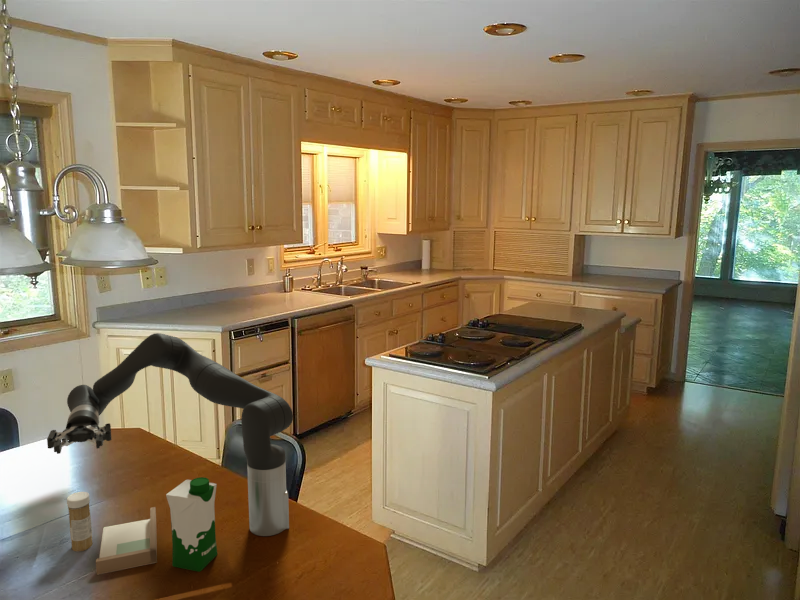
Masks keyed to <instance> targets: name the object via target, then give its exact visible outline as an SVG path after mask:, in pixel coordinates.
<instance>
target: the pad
mask: <svg viewBox="0 0 800 600" xmlns="http://www.w3.org/2000/svg"><path fill="white" fill-rule="evenodd" d="M149 548H150V538H147V539H142V540H137V541H131V542H126V543H121V544H117V551H116V555H118V554H123V553H128V552H133V551H138V550H144V549H149Z"/></svg>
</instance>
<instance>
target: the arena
mask: <svg viewBox="0 0 800 600" xmlns="http://www.w3.org/2000/svg"><path fill="white" fill-rule="evenodd" d="M149 508H150V509H149V510H150V511H149V514H150V515H149V516H150V517H149V518H148V519H142V520H137V521H136V520H135V521H131V522H130V521H129V522H126V523H125V522H124V523H120V524H114V525H110V526H109V525H108V526H104V527H103V530H102V535H101V536H102V537H101V543H100V549H99V550H100V551H99V557H97V558H96V559H95V569H96V575H103V574H107V573H112V572H117V571H123V570H126V569H131V568H136V567H141V566H146V565H151V564H155V563H158V560H157V559H158V558H157V556H158V555H157V553H158V552H157V549H158V548H157V512H156V511H157V510H156V506H153V507H149ZM147 538H150V548H149V549H144V550H138V551H133V552H128V553H123V554H118V555H116V551H117V544H121V543H126V542H131V541H137V540H142V539H147Z"/></svg>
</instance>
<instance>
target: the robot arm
mask: <svg viewBox="0 0 800 600" xmlns="http://www.w3.org/2000/svg"><path fill="white" fill-rule="evenodd" d="M151 366H152V367H155V368H160V369H167V370H170V371H174V372H176V373H179V374H180V375H182V376H184V377H185V378H187V379H188V383H189V385H190V387H191V388H192V389H193V391H195V392H196V394H199V395H200V396H202V397H203V398H204V399H206V400H208V401H209V402H212V403H213V404H216V405H220V406H225V407H230V408H231V407H232V408H238V409H242V412H241V420H240V421H241V432H242V433H241V434H242V442H243V451H244V455H245V457H246V463H247V464H246V467H247V469H246V470H247V492H248V493H247V498H248V499H247V501H248V524H249V531H250V532H251V533H252V534H253V535H256V536H260V537H270V536H275V535H278V534H280V533H282V532H283V531H285V530H289V529H290V515H289V514H290V512H289V492H288V490H287V472H286V468H287V467H286V458H287V457H286V451H285V449H284V448H283V447H282V446H280V445H277V444H272V442H271V437H272V436H275V435H277V434H279V433H282V432H284V431H285V430H286V429H288V428H289V427H290V426H291V425H292V423H293V420H294V414H293V410H292V408H291V406H290V404H289V403H288V402H287V400H286V399H284V398H283V397H282V396H281V395H278V394H276V393H274V392H271V391H270V390H266V389H264V388H262V387H259V386H258V385H255V384H253V383H252V382H250V381H248V380H246V379H245V378H243V377H241V376H239V375H238V374H236V373H235V372H233V371H232V370H230V369H229V368H227V367H225V366H224V365H222V364H220V363H218V362H216V361H215V360H212V359H211V358H209V357H206V356H205V355H202V354H201V353H199V352H198V351H196V350H195V349H194V348H193V347H191V346H190V345H189V344H188V343H187V342H186V341H184V340H183V339H182V338H179V337H177V336H173V335H169V334H166V333H165V334H164V333H159V332H155V333H152V334H150V335H148V336H147V337H146V338H144V340H143V341H141V343H140V344H138V345H137V346H136V347H135V348H134V349H133V350H132V351H131V352H130V354H128V355H127V356H126V357H125V358H124V359H123V361H121V363H120V364H118V365H117V366H116V367H114V368H113V369H112V370H110V371H109V372H107V373H106V374H105V375H103V376H101V377H100V378H98V379H97V380H96V381H95V382H94V383H93V386H92V387H91V386H89V385H87V384H78V385H77V386H75V387H73V388H72V389H71V391H70V392H69V393H68V395H67V399H66V403H67V404H66V405H67V407H68V410H69V412H70V414H69V415H68V418H67V423H66V425H65V429H63V430H62V431H60V432H58V431H57V430H56V429H51V430H50V432H49V433H48V436H47V438H46V443H47V444H46V445H47V449H53V452H54V453H56V454H61V453H62V448H63V447H64V446H65V447H68V446H70V445H72V444H74V443H85V442H91V443H95V446H96V447H95V448H96V449H100V448H101V447H103V445H104V441H106V442H110V441H112V428H111V426H112V425H111V423H106V424H104V425H103V426H102V427H101V426H99V425H100V416H101V415H102V413H103V412H104V410H105V409H106V408H107V406H108V405H109V404H110V403H111V402H113V400H114V399H115V398H117V397H119V396H120V395H122V394H123V393H124V392H126V391H127V390H129V389H130V387H132V385H133V383H134V381H135V379H136V375H137V373H139V372H140V371H142V370H143V369H146V368H148V367H151Z"/></svg>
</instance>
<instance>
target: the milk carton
mask: <svg viewBox="0 0 800 600" xmlns="http://www.w3.org/2000/svg"><path fill="white" fill-rule="evenodd" d="M216 493H217V483H214V482H210V480H209V478H207V477H204V476H203V477H195V478H193V479H189V478H188V479H185V480H184V481H182V482H181V483H180V484H178V485H177V486H176V487H174V488H173V489H172V490H170V491H169V492H168V493H166V494H165V495H166V500H167V503H168V506H169V508H170V509H169V511H170V523H171V524H170V525H171V544H172V550H171V551H172V555H171V557H172V564H171V565H172V567H174V568H180V569H184V570H188V571H194V572H199V573H200V572H201V571H203V570H204V569H205V568H206V567H208V565H209V564H210V563H211V562H212V561H213V560H214V559H215V558H216V557H217V555H218V547H217V538H216V536H217V535H216V517H215V515H216V512H215V502H216V501H215V500H216Z"/></svg>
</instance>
